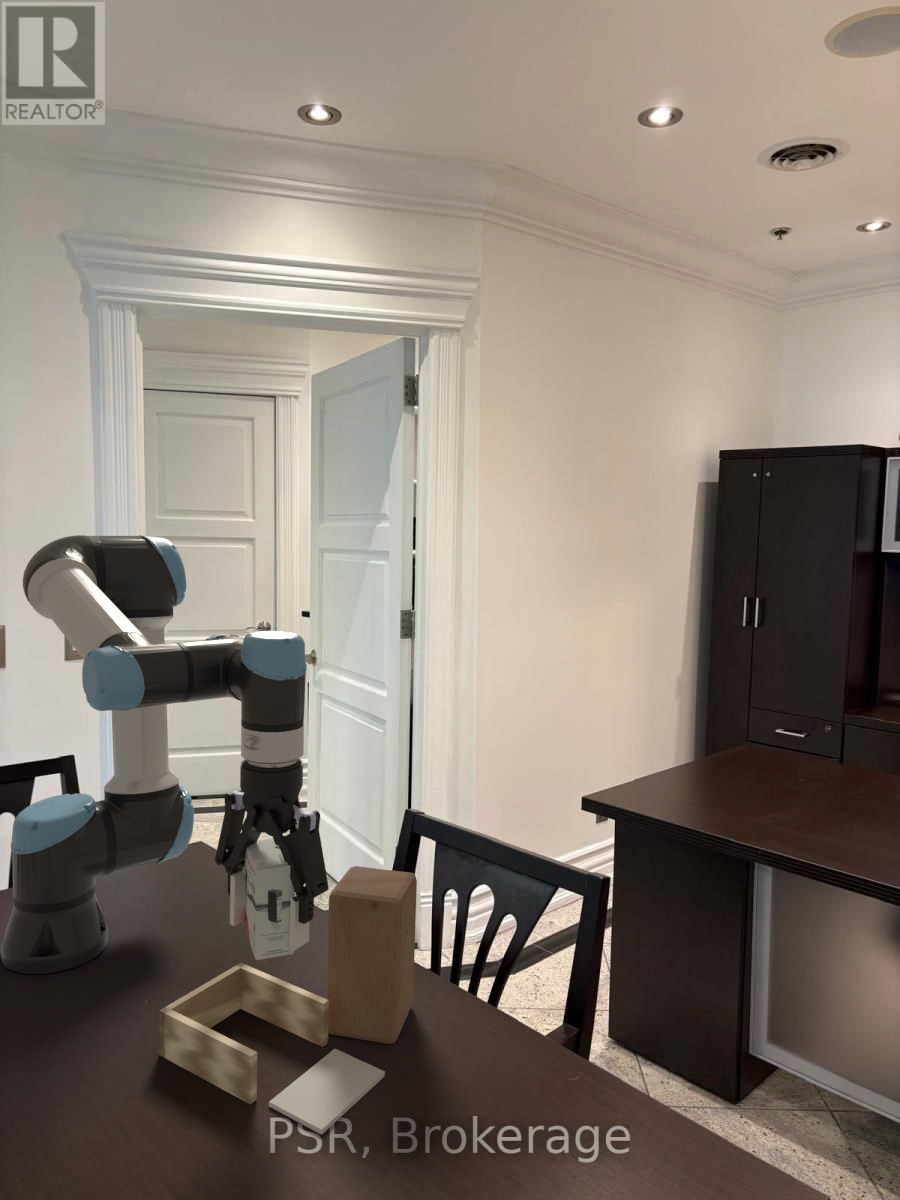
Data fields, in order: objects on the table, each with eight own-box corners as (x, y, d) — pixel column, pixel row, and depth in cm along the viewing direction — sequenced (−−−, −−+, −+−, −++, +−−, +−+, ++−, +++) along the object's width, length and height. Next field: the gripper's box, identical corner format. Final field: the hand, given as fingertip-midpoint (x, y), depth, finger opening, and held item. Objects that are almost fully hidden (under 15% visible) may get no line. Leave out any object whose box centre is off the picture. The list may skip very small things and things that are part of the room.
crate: (159, 1055, 107) (159, 1010, 106) (240, 1002, 119) (240, 962, 118) (250, 1104, 98) (251, 1056, 98) (327, 1043, 110) (328, 1000, 110)
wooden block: (395, 1048, 110) (400, 902, 108) (323, 1036, 112) (326, 892, 110) (414, 1005, 120) (418, 870, 118) (347, 995, 122) (350, 862, 120)
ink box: (242, 928, 108) (244, 839, 107) (281, 922, 110) (283, 835, 109) (254, 962, 100) (256, 867, 99) (295, 955, 102) (297, 862, 101)
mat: (269, 1106, 98) (269, 1101, 98) (334, 1052, 108) (334, 1048, 108) (321, 1134, 94) (321, 1129, 94) (384, 1076, 104) (384, 1071, 104)
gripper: (185, 748, 105) (184, 919, 107) (321, 785, 94) (316, 974, 96) (230, 736, 111) (228, 897, 114) (362, 768, 100) (357, 947, 102)
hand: (268, 932), depth 105 cm, fingers closed on ink box, 9 cm apart
